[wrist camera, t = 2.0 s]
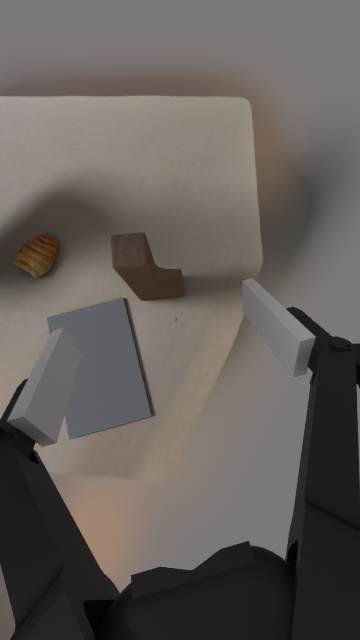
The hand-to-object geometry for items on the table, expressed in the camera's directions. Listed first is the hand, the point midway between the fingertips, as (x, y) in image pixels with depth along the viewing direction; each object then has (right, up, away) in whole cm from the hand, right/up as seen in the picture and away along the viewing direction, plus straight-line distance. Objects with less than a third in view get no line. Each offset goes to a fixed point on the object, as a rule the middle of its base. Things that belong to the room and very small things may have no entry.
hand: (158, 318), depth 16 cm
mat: (-15, -9, +27) cm, 32 cm away
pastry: (-29, +13, +31) cm, 44 cm away
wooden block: (-2, +6, +29) cm, 30 cm away
